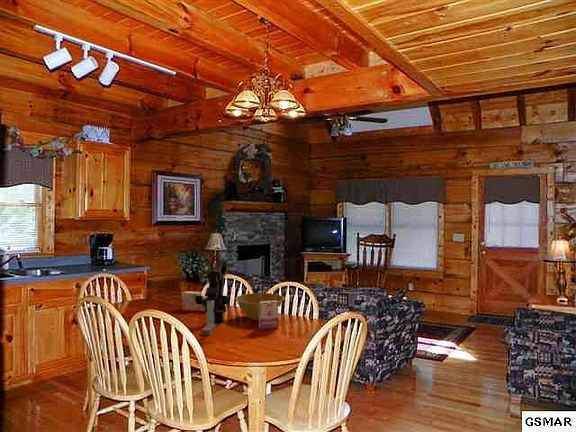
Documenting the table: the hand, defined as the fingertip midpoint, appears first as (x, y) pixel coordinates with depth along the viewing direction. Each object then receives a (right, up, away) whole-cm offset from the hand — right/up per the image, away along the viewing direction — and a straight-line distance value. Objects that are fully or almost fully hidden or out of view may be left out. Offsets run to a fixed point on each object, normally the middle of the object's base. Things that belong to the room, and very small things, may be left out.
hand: (210, 312), depth 260 cm
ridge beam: (-2, -13, +8) cm, 15 cm away
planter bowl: (+26, -12, +41) cm, 50 cm away
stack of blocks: (-20, -12, +64) cm, 68 cm away
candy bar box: (+33, -13, +16) cm, 39 cm away
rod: (0, -7, +2) cm, 7 cm away
